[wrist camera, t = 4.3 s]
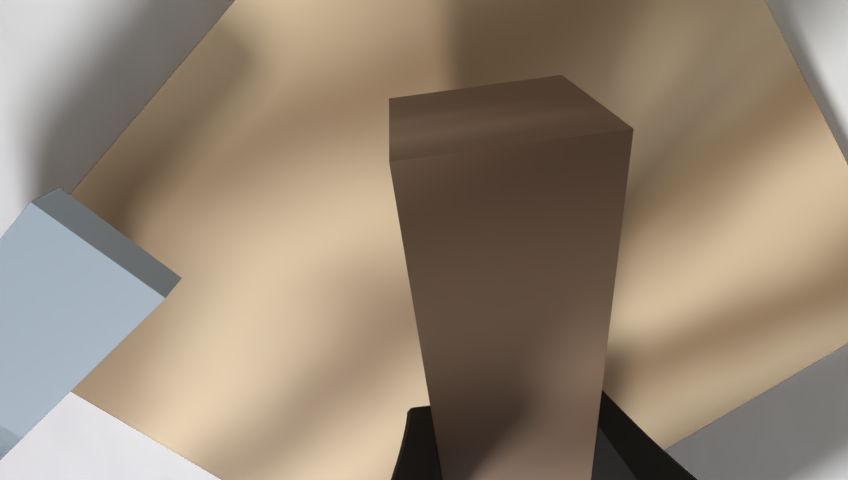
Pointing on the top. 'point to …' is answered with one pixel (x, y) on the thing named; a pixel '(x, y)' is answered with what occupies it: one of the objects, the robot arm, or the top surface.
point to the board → (381, 236)
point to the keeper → (65, 304)
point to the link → (511, 268)
